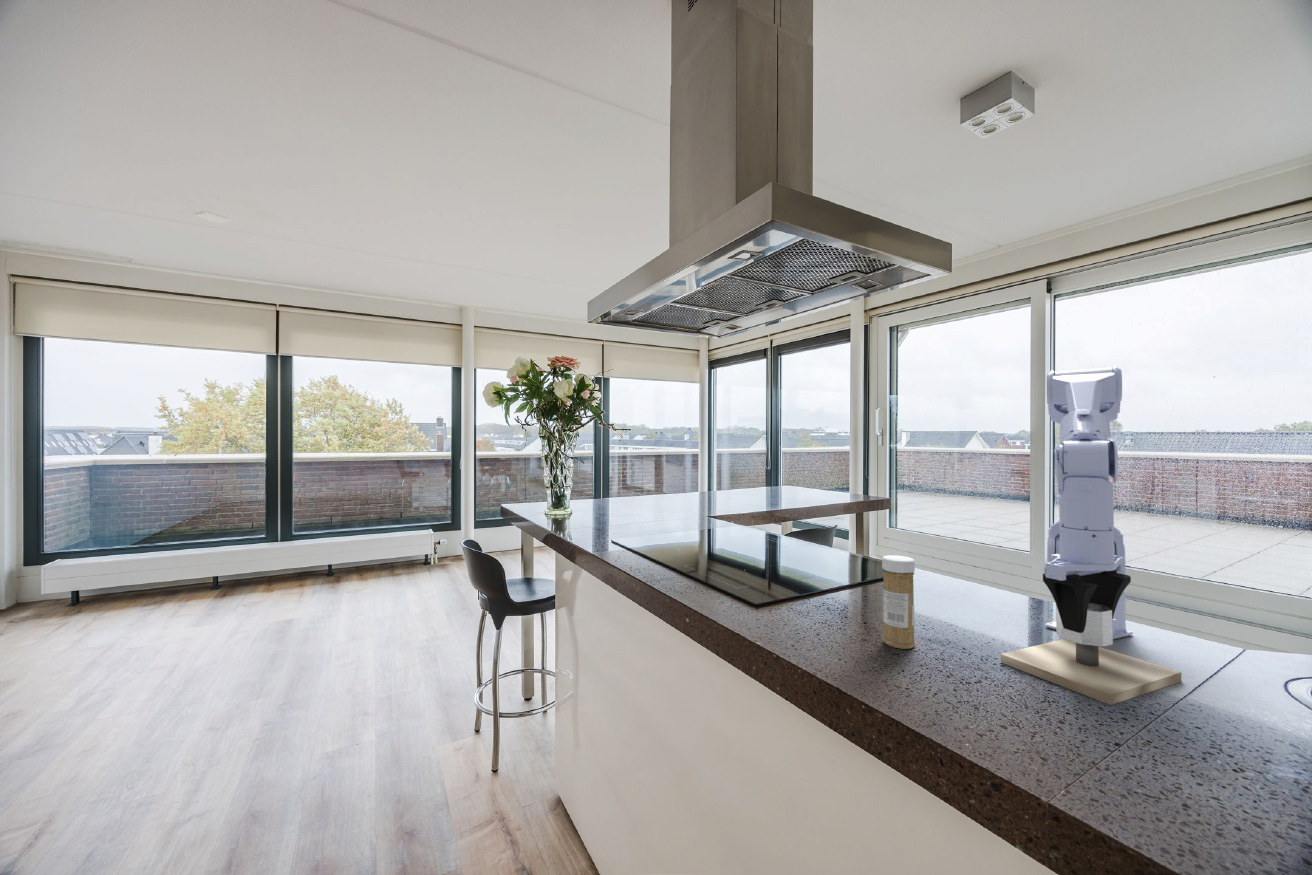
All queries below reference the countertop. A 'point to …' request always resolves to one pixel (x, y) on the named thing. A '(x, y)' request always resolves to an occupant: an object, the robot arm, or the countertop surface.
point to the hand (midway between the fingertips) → (1086, 627)
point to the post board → (1091, 670)
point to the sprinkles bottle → (898, 601)
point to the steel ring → (1090, 627)
